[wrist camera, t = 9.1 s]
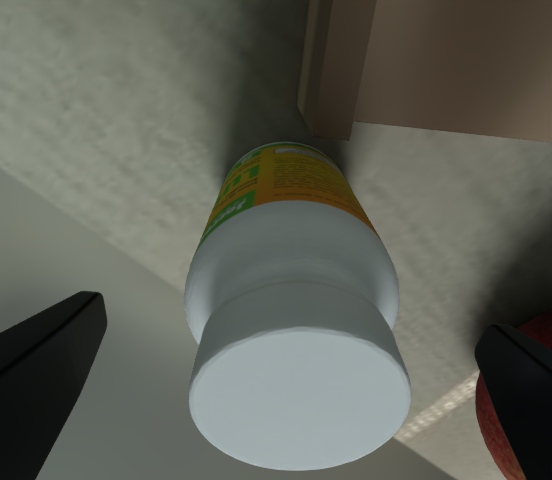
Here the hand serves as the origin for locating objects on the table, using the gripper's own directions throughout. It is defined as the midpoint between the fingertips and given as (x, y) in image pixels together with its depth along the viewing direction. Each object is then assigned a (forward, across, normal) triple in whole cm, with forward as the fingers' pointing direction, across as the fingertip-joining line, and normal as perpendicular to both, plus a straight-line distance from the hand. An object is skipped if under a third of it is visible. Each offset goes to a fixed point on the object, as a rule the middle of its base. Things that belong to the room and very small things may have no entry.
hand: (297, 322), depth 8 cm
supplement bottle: (+8, 0, 0) cm, 8 cm away
